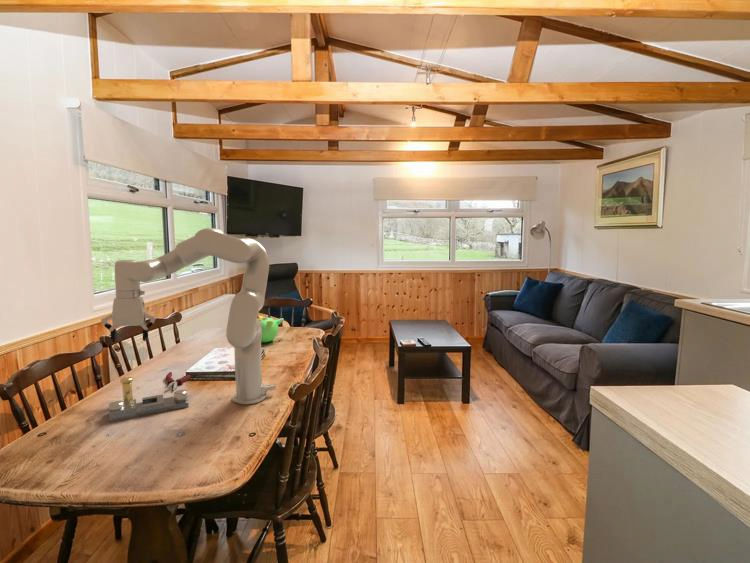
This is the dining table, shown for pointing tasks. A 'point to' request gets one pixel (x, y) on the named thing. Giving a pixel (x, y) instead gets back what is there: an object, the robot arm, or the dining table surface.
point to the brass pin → (127, 388)
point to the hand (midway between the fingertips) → (130, 340)
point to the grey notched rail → (147, 406)
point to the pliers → (173, 383)
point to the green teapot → (269, 328)
